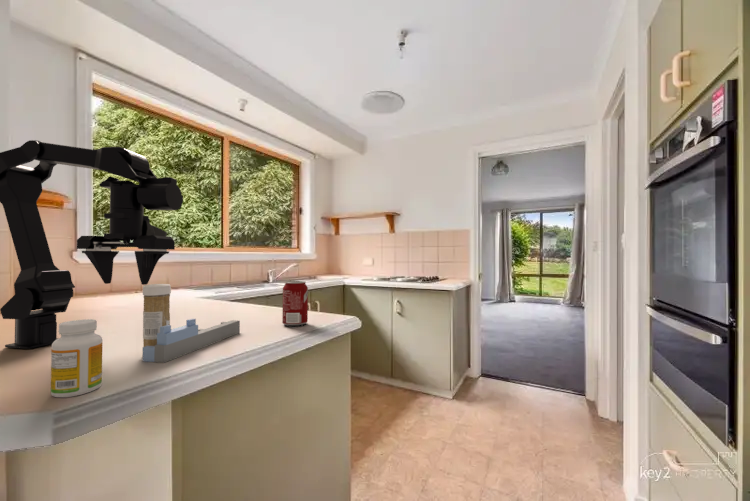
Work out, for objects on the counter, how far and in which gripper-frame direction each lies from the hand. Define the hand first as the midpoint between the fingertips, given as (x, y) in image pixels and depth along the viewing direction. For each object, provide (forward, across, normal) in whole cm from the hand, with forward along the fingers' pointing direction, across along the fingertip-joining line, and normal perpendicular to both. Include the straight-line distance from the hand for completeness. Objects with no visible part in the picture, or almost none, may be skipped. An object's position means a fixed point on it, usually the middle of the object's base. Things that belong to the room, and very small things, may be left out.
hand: (125, 284), depth 69 cm
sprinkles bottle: (+13, -11, +3) cm, 17 cm away
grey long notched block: (+13, -14, -4) cm, 20 cm away
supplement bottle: (+13, -14, +20) cm, 28 cm away
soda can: (+13, -26, -27) cm, 40 cm away
